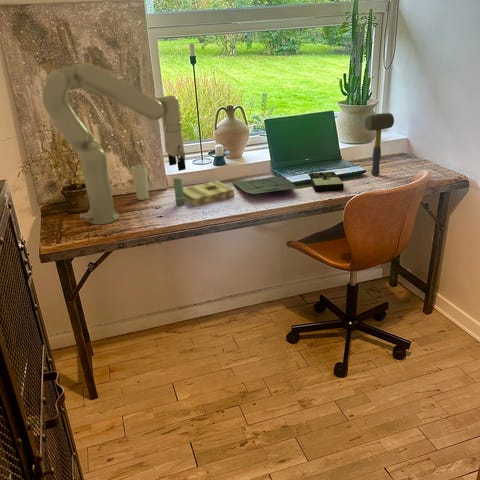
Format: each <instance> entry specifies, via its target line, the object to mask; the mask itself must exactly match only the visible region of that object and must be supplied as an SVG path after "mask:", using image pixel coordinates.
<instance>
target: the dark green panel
mask: <svg viewBox="0 0 480 480" xmlns="http://www.w3.org/2000/svg"><path fill="white" fill-rule="evenodd" d="M232 183H233V185H235V186H237V187H238V188H239V189H241V191H243V192H245V193H247V194H248V193H250V194H251V195H254V194H255V195H257V194H261V193H270V192H277V191H284V190H292V189H296V185H295V184H294V183H293V182H291V181H289V180H287V179H285V178H284V177H281V178H280V176H278V177H277V176H276V175H275V176H271V177H270V176H269V177H263V178H255V179H249V180H247V179H246V180H239V181H232Z"/></svg>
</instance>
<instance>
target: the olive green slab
mask: <svg viewBox="0 0 480 480" xmlns="http://www.w3.org/2000/svg"><path fill="white" fill-rule="evenodd" d="M183 195H184V201H186V202H187V203H188V204H190V205H191V206H193V207H198V206H202V205H206V204H211V203H214V202H218V201H222V200H226V199H231V198H235V189H233V188H232V187H230V186H228V185H226V184H224V183H222V182H221V181H219V180H215V181H210V182H205V183H200V184H196V185H192V186H188V187H184V188H183Z"/></svg>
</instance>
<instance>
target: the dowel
mask: <svg viewBox="0 0 480 480" xmlns="http://www.w3.org/2000/svg"><path fill="white" fill-rule="evenodd" d="M173 186H174V187H173V188H174V197H175V204H176V205H175V206H177V207H183V206H185V200H184V195H183V187H184V186H183V179H182V177H179V176H178V177H174V178H173Z"/></svg>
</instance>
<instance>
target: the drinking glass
mask: <svg viewBox="0 0 480 480" xmlns="http://www.w3.org/2000/svg"><path fill="white" fill-rule="evenodd" d="M130 170H131V171H130V172H131V177H132V181H133V186H134V189H135V194H136V199H137V200H138V201H145V200H148V199H149V197H150V196H149V183H148V171H147V167H146V165H145V164H140V165H139V164H138V165H133V166H131V168H130Z"/></svg>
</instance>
